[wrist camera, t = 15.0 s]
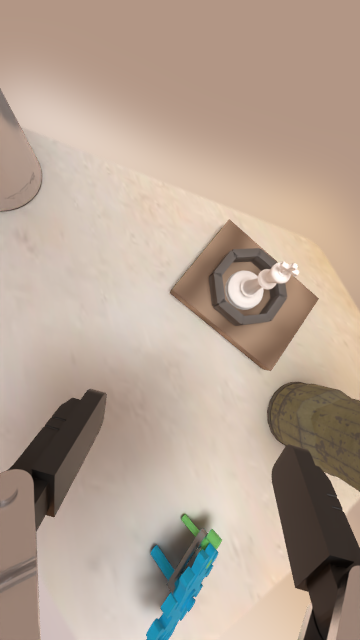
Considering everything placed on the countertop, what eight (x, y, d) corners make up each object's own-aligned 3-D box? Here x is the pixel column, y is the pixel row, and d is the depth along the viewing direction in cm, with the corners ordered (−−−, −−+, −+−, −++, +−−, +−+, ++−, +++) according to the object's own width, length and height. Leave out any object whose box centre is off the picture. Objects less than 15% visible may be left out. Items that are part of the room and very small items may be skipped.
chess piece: (235, 264, 30) (282, 227, 21) (267, 283, 31) (328, 256, 21) (218, 297, 30) (259, 276, 20) (251, 316, 30) (307, 305, 20)
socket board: (169, 292, 31) (174, 285, 27) (223, 226, 33) (235, 211, 29) (262, 369, 32) (280, 372, 28) (308, 300, 34) (330, 295, 30)
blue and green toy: (175, 645, 26) (133, 691, 18) (142, 588, 29) (96, 607, 22) (234, 542, 29) (218, 547, 22) (197, 502, 33) (174, 495, 26)
